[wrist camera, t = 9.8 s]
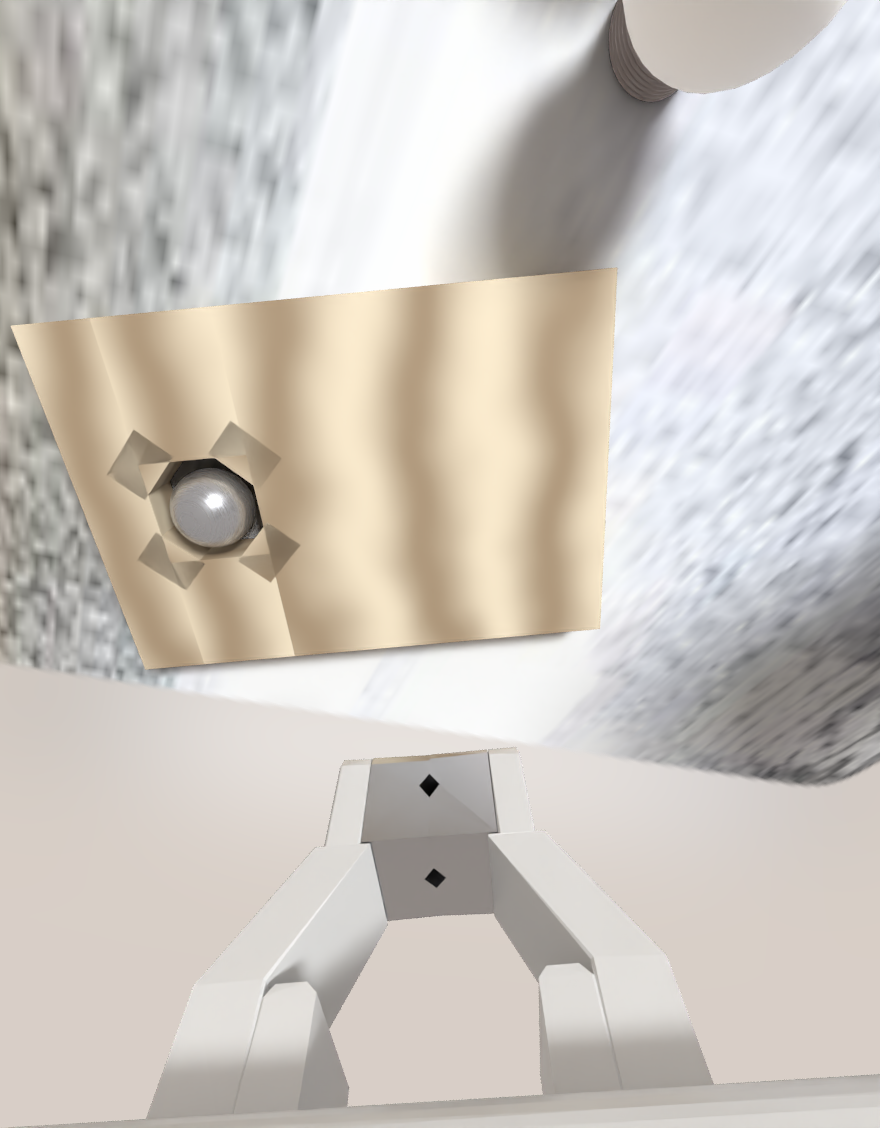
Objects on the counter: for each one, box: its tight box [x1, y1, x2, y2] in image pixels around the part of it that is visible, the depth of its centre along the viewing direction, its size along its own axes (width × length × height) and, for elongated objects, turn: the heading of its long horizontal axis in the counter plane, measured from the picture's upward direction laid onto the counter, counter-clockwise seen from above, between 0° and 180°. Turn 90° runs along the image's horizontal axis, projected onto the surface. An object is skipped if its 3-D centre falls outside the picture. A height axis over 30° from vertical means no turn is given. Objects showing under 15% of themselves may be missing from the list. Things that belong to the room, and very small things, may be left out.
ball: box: [170, 468, 255, 548], centre depth 27 cm, size 4×4×4 cm
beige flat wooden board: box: [11, 268, 617, 670], centre depth 28 cm, size 26×18×2 cm
